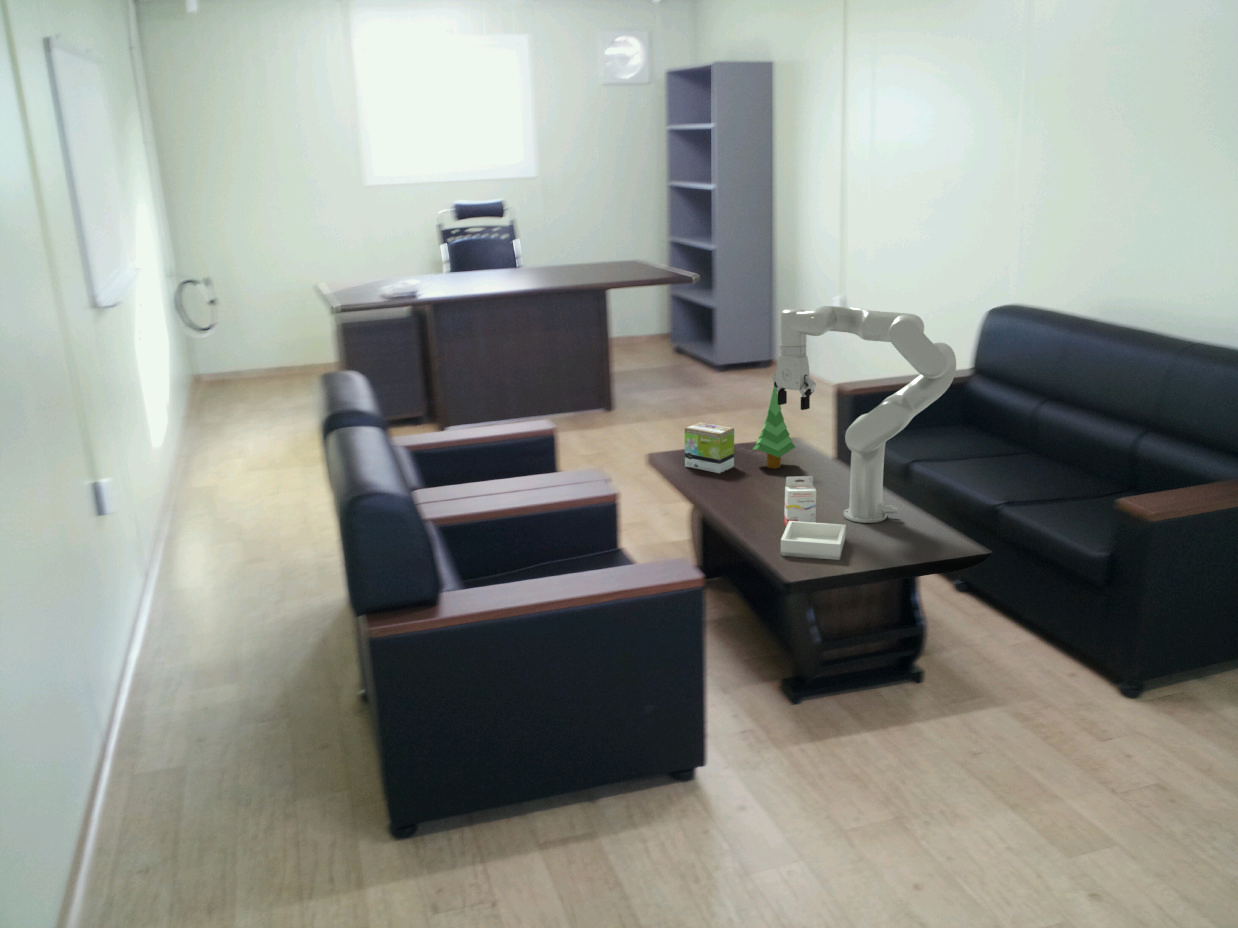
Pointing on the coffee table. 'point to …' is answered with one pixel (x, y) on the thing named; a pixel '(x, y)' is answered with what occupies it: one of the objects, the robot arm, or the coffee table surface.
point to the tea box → (709, 447)
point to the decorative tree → (774, 434)
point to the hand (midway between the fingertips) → (793, 406)
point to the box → (813, 540)
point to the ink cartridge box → (800, 500)
